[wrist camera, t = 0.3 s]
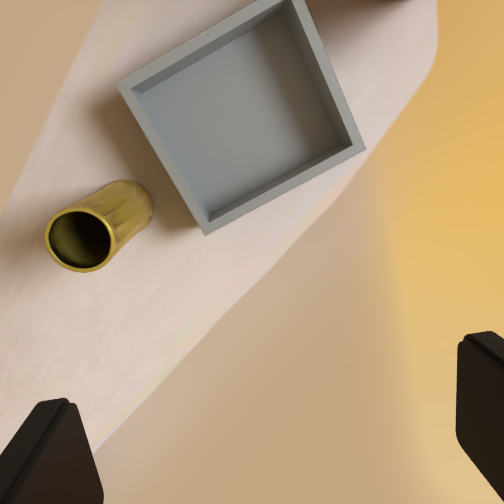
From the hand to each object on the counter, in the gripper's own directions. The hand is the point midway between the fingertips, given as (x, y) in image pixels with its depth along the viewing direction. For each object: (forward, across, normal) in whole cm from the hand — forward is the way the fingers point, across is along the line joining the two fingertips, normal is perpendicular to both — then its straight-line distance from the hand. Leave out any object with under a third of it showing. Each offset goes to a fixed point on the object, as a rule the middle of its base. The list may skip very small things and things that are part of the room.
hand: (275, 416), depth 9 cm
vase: (+36, +12, -1) cm, 38 cm away
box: (+36, -2, -8) cm, 37 cm away
